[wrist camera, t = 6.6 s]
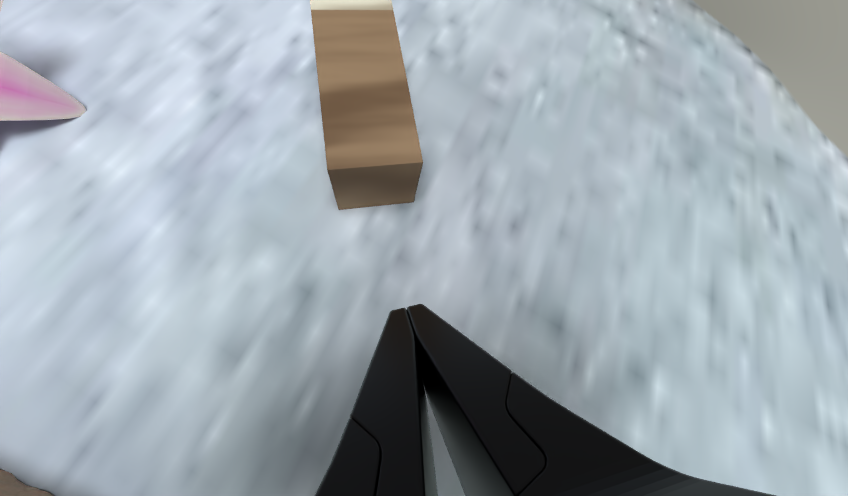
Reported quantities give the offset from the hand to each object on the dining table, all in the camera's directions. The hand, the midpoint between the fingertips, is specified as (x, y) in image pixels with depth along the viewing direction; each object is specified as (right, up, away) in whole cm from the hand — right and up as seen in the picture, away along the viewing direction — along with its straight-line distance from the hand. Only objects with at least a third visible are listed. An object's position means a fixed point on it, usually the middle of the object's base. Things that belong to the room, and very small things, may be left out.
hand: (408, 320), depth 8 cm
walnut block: (-2, +5, +11) cm, 12 cm away
